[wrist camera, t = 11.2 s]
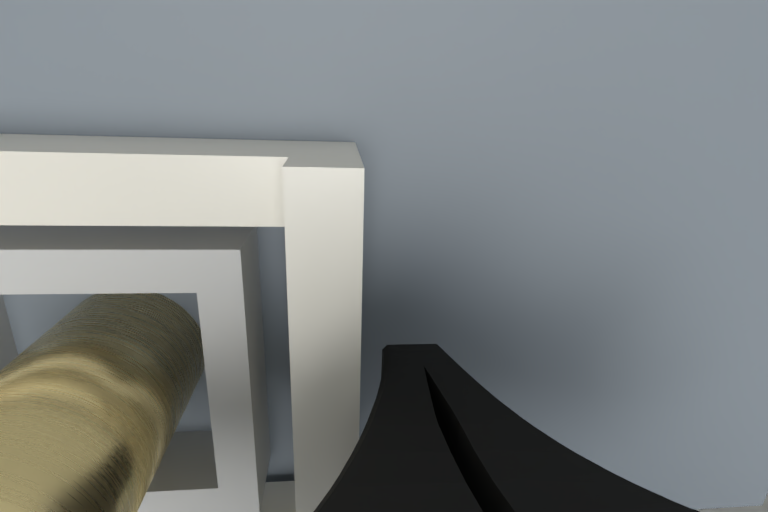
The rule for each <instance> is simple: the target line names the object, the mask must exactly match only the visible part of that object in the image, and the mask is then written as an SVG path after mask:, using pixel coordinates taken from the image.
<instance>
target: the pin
mask: <svg viewBox="0 0 768 512" xmlns="http://www.w3.org/2000/svg"><path fill="white" fill-rule="evenodd" d="M204 367H205V364H204V355H203V346H202V337H201V330H200V328H199V326H198V324H197V323H196V322H195V320H194V319H193V318H192V316H191V315H190V314H189V313H188V312H187V311H186V310H185V309H184V308H182V307H181V306H180V305H179V304H177V303H176V302H174V301H173V300H171V299H169V298H167V297H165V296H163V295H161V294H158V293H118V294H94V295H92V296H90V297H88V298H87V299H85V300H84V301H82V302H81V303H80V304H79V305H77V306H76V307H75V308H74V309H73V310H72V311H70V312H69V313H68V314H67V315H66V316H64V317H63V318H62V319H61V320H60V321H58V322H57V323H56V324H55V325H54V326H53V327H51V328H50V329H49V330H48V331H47V332H45V333H44V334H43V335H42V336H41V337H40V338H38V339H37V340H36V341H35V342H34V343H32V344H31V345H30V346H29V347H28V348H26V349H25V350H24V351H23V352H22V353H21V354H19V355H18V356H17V357H16V358H15V359H13V360H12V361H11V362H10V363H9V364H8V365H6V366H5V367H4V368H3V369H2V370H0V512H137V511H138V509H139V507H140V505H141V503H142V501H143V498H144V496H145V494H146V492H147V490H148V488H149V486H150V484H151V481H152V479H153V477H154V475H155V473H156V471H157V469H158V466H159V464H160V462H161V460H162V458H163V456H164V454H165V452H166V449H167V447H168V445H169V443H170V441H171V439H172V437H173V434H174V432H175V430H176V428H177V426H178V424H179V422H180V419H181V417H182V415H183V413H184V411H185V409H186V407H187V405H188V402H189V400H190V398H191V396H192V394H193V392H194V390H195V387H196V385H197V383H198V381H199V379H200V377H201V375H202V373H203V370H204Z"/></svg>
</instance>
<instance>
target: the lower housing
mask: <svg viewBox="0 0 768 512" xmlns="http://www.w3.org/2000/svg"><path fill="white" fill-rule="evenodd" d="M364 169H365V168H364V165H363V163H362V160H361V157H360V154H359V152H358V149H357V146H356V143H355V142H326V141H284V140H243V139H201V138H160V137H118V136H76V135H35V134H0V225H46V226H237V227H285V250H286V276H287V301H288V327H289V352H290V378H291V403H292V428H293V454H294V479H295V481H280V482H266V483H265V489H264V494H263V500H262V506H261V511H260V512H314V510H315V509H316V508H317V506H318V505H319V504H320V502H321V501H322V499H323V498H324V497H325V495H326V494H327V493H328V491H329V490H330V488H331V487H332V485H333V484H334V482H335V481H336V479H337V478H338V476H339V475H340V473H341V471H342V469H343V468H344V466H345V464H346V463H347V461H348V459H349V457H350V456H351V454H352V452H353V450H354V448H355V446H356V444H357V442H358V440H359V421H360V370H361V320H362V269H363V219H364Z"/></svg>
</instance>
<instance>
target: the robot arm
mask: <svg viewBox="0 0 768 512" xmlns="http://www.w3.org/2000/svg"><path fill="white" fill-rule="evenodd" d="M314 512H699V511H696V510H694V509H691V508H688V507H686V506H683V505H681V504H679V503H676V502H674V501H672V500H670V499H667V498H665V497H663V496H661V495H658V494H656V493H654V492H652V491H650V490H647V489H645V488H643V487H641V486H639V485H636V484H634V483H632V482H630V481H628V480H626V479H624V478H622V477H620V476H618V475H616V474H614V473H612V472H610V471H608V470H606V469H605V468H603V467H601V466H599V465H597V464H595V463H594V462H592V461H590V460H588V459H586V458H584V457H583V456H581V455H579V454H577V453H575V452H574V451H572V450H570V449H569V448H567V447H565V446H564V445H562V444H560V443H559V442H557V441H556V440H554V439H553V438H551V437H550V436H548V435H547V434H545V433H543V432H542V431H540V430H539V429H537V428H536V427H534V426H533V425H531V424H530V423H529V422H527V421H526V420H524V419H523V418H522V417H520V416H519V415H518V414H516V413H515V412H514V411H512V410H511V409H510V408H509V407H507V406H506V405H505V404H503V403H502V402H501V401H499V400H498V399H497V398H496V397H495V396H493V395H492V394H491V393H490V392H489V391H487V390H486V389H485V388H484V387H483V386H482V385H480V384H479V383H478V382H477V381H476V380H475V379H474V378H473V377H471V376H470V375H469V374H468V373H467V372H466V371H465V370H464V369H463V368H462V367H461V366H460V365H459V364H457V363H456V362H455V361H454V360H453V359H452V358H451V357H450V356H449V355H448V354H447V353H446V352H445V351H444V350H443V349H442V348H441V347H439V346H438V345H437V344H397V345H386V346H385V347H384V348H383V349H382V368H381V381H380V385H379V389H378V393H377V396H376V399H375V402H374V405H373V407H372V410H371V413H370V415H369V418H368V421H367V423H366V425H365V428H364V430H363V432H362V434H361V436H360V438H359V440H358V442H357V444H356V446H355V448H354V450H353V452H352V454H351V456H350V457H349V459H348V461H347V463H346V464H345V466H344V468H343V469H342V471H341V473H340V475H339V476H338V478H337V479H336V481H335V482H334V484H333V485H332V487H331V488H330V490H329V491H328V493H327V494H326V495H325V497H324V498H323V499H322V501H321V502H320V504H319V505H318V506H317V508H316V509H315V510H314Z"/></svg>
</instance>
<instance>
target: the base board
mask: <svg viewBox="0 0 768 512" xmlns="http://www.w3.org/2000/svg"><path fill="white" fill-rule="evenodd" d="M0 134H35V135H76V136H118V137H160V138H201V139H243V140H284V141H326V142H355V143H356V146H357V149H358V152H359V154H360V157H361V160H362V163H363V165H364V168H365V169H364V219H363V269H362V320H361V370H360V421H359V438H360V436H361V434H362V432H363V430H364V428H365V425H366V423H367V421H368V418H369V415H370V413H371V410H372V407H373V405H374V402H375V399H376V396H377V393H378V389H379V385H380V381H381V368H382V349H383V348H384V347H385V346H386V345H397V344H437V345H438V346H439V347H441V348H442V349H443V350H444V351H445V352H446V353H447V354H448V355H449V356H450V357H451V358H452V359H453V360H454V361H455V362H456V363H457V364H459V365H460V366H461V367H462V368H463V369H464V370H465V371H466V372H467V373H468V374H469V375H470V376H471V377H473V378H474V379H475V380H476V381H477V382H478V383H479V384H480V385H482V386H483V387H484V388H485V389H486V390H487V391H489V392H490V393H491V394H492V395H493V396H495V397H496V398H497V399H498V400H499V401H501V402H502V403H503V404H505V405H506V406H507V407H509V408H510V409H511V410H512V411H514V412H515V413H516V414H518V415H519V416H520V417H522V418H523V419H524V420H526V421H527V422H529V423H530V424H531V425H533V426H534V427H536V428H537V429H539V430H540V431H542V432H543V433H545V434H547V435H548V436H550V437H551V438H553V439H554V440H556V441H557V442H559V443H560V444H562V445H564V446H565V447H567V448H569V449H570V450H572V451H574V452H575V453H577V454H579V455H581V456H583V457H584V458H586V459H588V460H590V461H592V462H594V463H595V464H597V465H599V466H601V467H603V468H605V469H606V470H608V471H610V472H612V473H614V474H616V475H618V476H620V477H622V478H624V479H626V480H628V481H630V482H632V483H634V484H636V485H639V486H641V487H643V488H645V489H647V490H650V491H652V492H654V493H656V494H658V495H661V496H663V497H665V498H667V499H670V500H672V501H674V502H676V503H679V504H681V505H683V506H686V507H688V508H691V509H709V508H725V507H741V506H758V505H763V502H764V500H765V498H766V495H767V493H768V0H0ZM118 293H158V294H161V295H163V296H165V297H167V298H169V299H171V300H173V301H174V302H176V303H177V304H179V305H180V306H181V307H182V308H184V309H185V310H186V311H187V312H188V313H189V314H190V315H191V316H192V318H193V319H194V320H195V322H196V323H197V324H198V326H199V328H200V330H201V337H202V346H203V355H204V364H205V367H204V370H203V373H202V375H201V377H200V379H199V381H198V383H197V385H196V387H195V390H194V392H193V394H192V396H191V398H190V400H189V402H188V405H187V407H186V409H185V411H184V413H183V415H182V417H181V419H180V422H179V424H178V426H177V428H176V430H175V432H174V434H173V437H172V439H171V441H170V443H169V445H168V447H167V449H166V452H165V454H164V456H163V458H162V460H161V462H160V464H159V466H158V469H157V471H156V473H155V475H154V477H153V479H152V481H151V484H150V486H149V488H148V490H147V492H146V494H145V496H144V498H143V501H142V503H141V505H140V507H139V509H138V511H137V512H260V511H261V506H262V500H263V494H264V489H265V483H266V482H280V481H295V479H294V454H293V428H292V403H291V378H290V352H289V327H288V301H287V276H286V250H285V227H237V226H46V225H0V370H2V369H3V368H4V367H5V366H6V365H8V364H9V363H10V362H11V361H12V360H13V359H15V358H16V357H17V356H18V355H19V354H21V353H22V352H23V351H24V350H25V349H26V348H28V347H29V346H30V345H31V344H32V343H34V342H35V341H36V340H37V339H38V338H40V337H41V336H42V335H43V334H44V333H45V332H47V331H48V330H49V329H50V328H51V327H53V326H54V325H55V324H56V323H57V322H58V321H60V320H61V319H62V318H63V317H64V316H66V315H67V314H68V313H69V312H70V311H72V310H73V309H74V308H75V307H76V306H77V305H79V304H80V303H81V302H82V301H84V300H85V299H87V298H88V297H90V296H92V295H94V294H118Z"/></svg>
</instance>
